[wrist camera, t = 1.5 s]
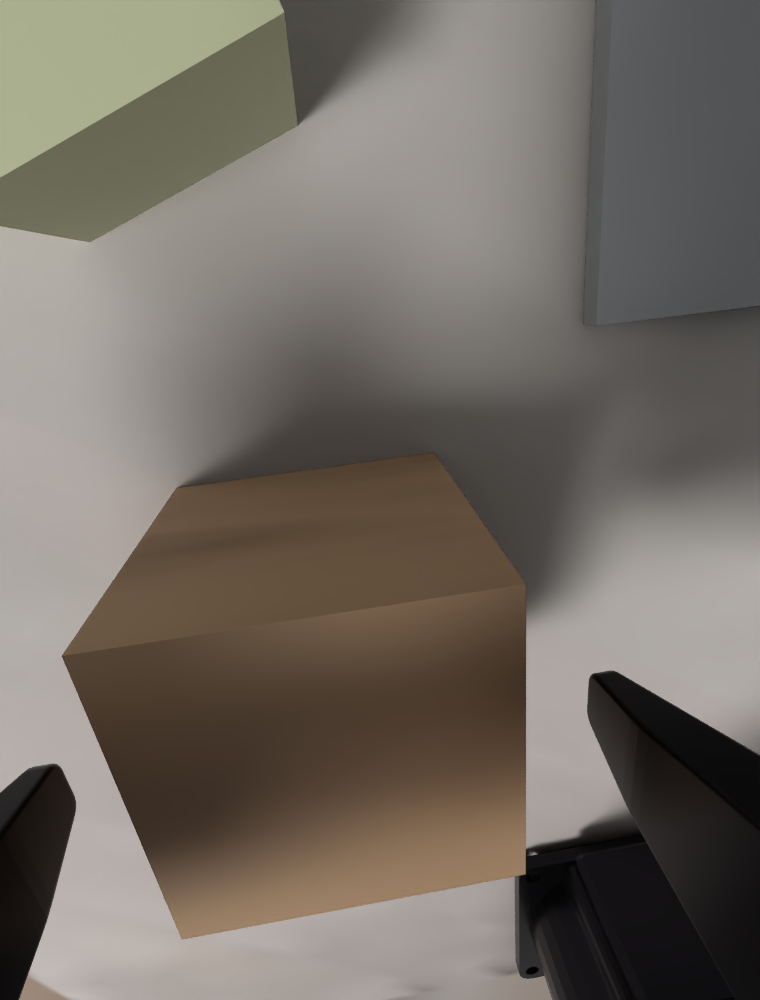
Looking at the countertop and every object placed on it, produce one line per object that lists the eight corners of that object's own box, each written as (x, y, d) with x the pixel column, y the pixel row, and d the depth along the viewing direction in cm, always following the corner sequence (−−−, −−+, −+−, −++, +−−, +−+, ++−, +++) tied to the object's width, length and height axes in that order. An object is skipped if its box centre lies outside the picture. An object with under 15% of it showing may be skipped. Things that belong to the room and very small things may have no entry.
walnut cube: (447, 654, 15) (526, 874, 9) (232, 689, 14) (181, 939, 9) (433, 451, 13) (526, 584, 7) (177, 486, 12) (62, 656, 7)
